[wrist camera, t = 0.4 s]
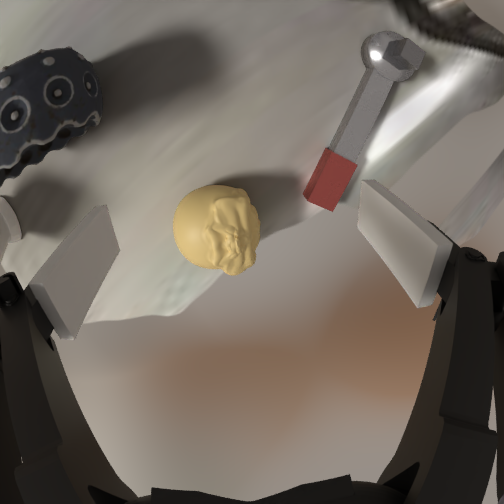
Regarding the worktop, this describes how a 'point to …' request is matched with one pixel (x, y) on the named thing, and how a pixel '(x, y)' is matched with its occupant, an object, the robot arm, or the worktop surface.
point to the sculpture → (217, 228)
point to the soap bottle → (8, 226)
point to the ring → (45, 106)
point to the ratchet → (362, 113)
